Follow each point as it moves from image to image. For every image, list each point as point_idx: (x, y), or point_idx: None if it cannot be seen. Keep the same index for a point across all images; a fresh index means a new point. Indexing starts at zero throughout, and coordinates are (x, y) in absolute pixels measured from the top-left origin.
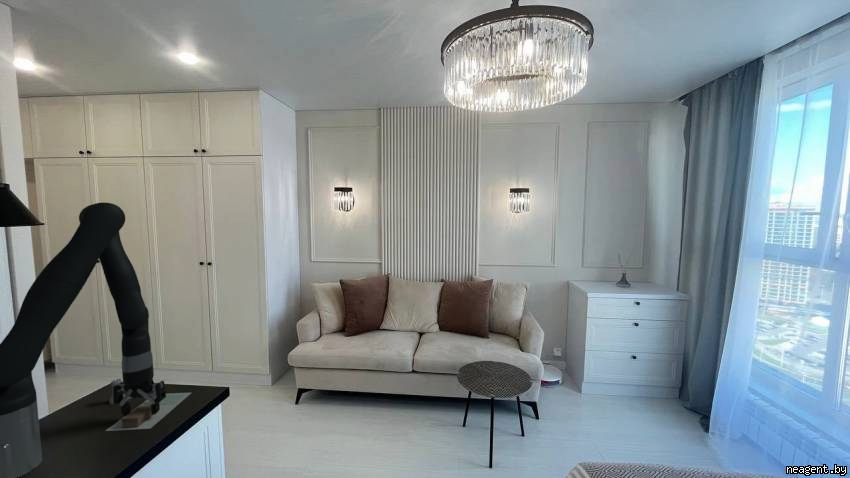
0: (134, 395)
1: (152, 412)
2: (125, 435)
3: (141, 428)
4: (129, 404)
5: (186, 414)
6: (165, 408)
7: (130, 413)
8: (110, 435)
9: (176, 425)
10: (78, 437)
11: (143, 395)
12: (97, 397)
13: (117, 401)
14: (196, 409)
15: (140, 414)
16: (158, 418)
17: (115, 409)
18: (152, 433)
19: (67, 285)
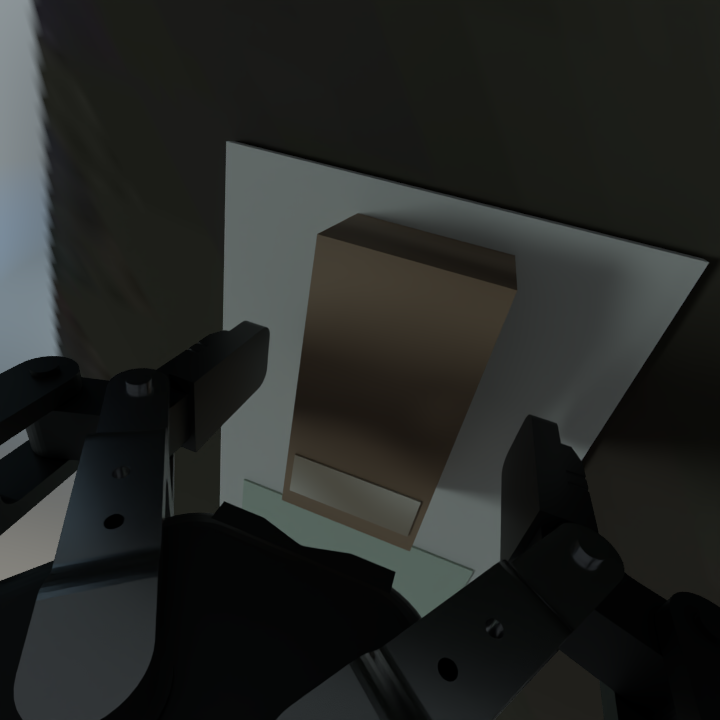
0: (332, 601)
1: (243, 333)
2: (435, 94)
3: (310, 170)
4: (505, 541)
5: (96, 305)
6: (278, 448)
7: (456, 388)
8: (615, 154)
9: (60, 146)
10: None
11: (138, 505)
12: None
13: (674, 630)
14: (75, 349)
15: (325, 315)
16: (251, 312)
17: None
18: (176, 50)
19: None
